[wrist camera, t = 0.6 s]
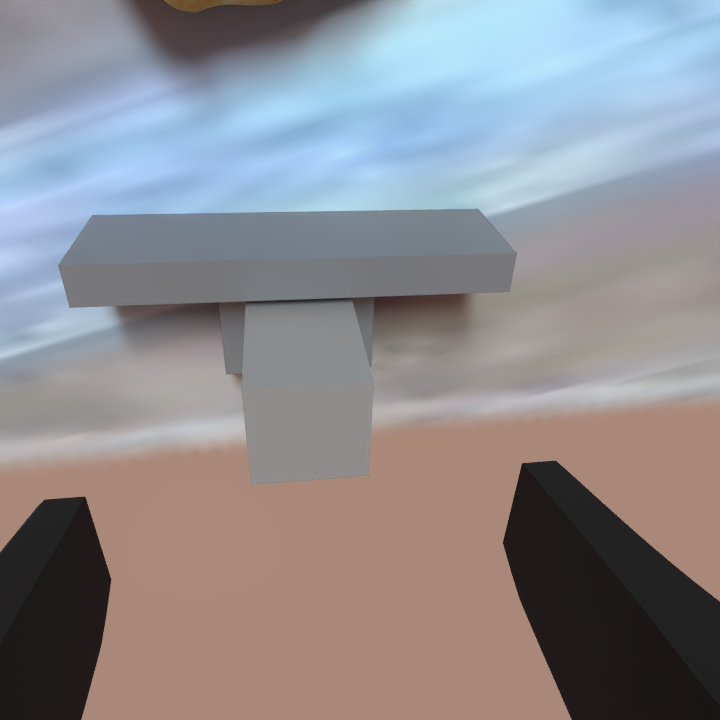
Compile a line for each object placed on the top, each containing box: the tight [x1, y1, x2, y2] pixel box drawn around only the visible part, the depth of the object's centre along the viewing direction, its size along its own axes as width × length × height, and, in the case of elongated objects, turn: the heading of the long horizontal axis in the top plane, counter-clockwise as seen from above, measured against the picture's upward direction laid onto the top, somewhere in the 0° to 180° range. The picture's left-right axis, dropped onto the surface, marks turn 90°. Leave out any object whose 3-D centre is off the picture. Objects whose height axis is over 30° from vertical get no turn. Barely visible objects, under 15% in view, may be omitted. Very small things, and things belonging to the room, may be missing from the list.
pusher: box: [58, 209, 517, 485], centre depth 14 cm, size 10×4×6 cm, turn 88°
